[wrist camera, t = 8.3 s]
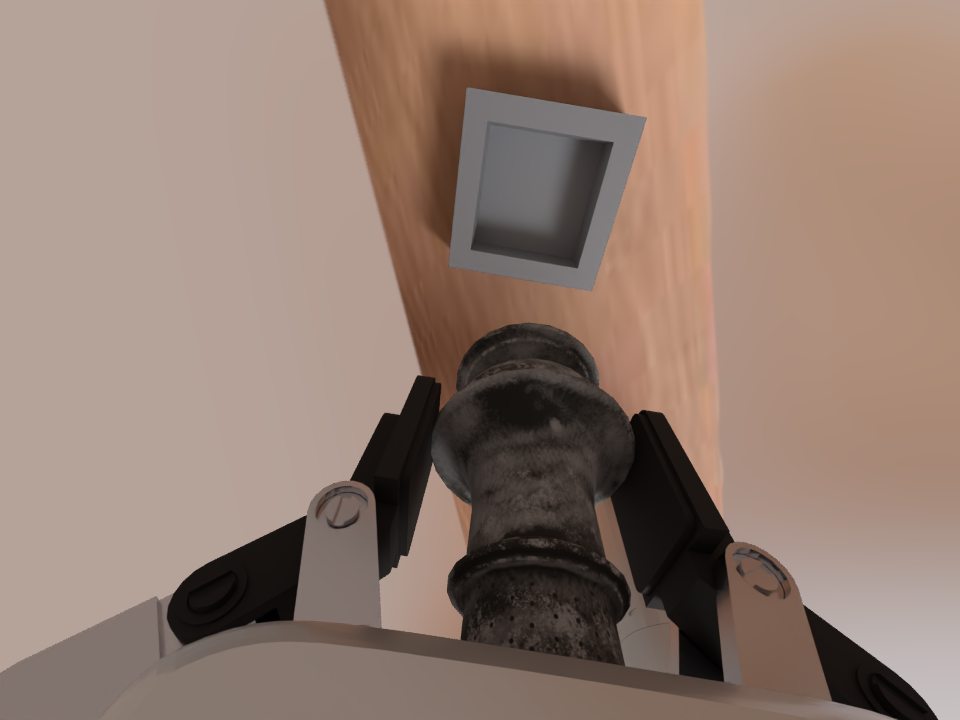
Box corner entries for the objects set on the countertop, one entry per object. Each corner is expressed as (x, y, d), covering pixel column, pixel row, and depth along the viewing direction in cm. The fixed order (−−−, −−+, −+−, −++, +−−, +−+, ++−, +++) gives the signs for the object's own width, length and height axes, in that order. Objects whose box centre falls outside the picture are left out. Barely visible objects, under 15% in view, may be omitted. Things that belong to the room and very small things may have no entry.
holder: (583, 276, 30) (591, 291, 27) (456, 254, 30) (448, 266, 27) (629, 123, 25) (647, 117, 21) (473, 97, 25) (466, 87, 22)
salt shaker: (522, 466, 16) (538, 1092, 5) (417, 384, 14) (128, 1080, 3) (640, 389, 13) (1115, 1287, 3) (530, 279, 11) (693, 1570, 1)
